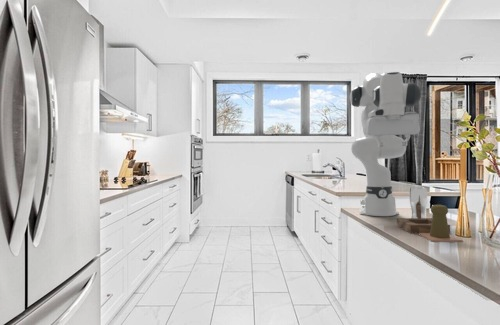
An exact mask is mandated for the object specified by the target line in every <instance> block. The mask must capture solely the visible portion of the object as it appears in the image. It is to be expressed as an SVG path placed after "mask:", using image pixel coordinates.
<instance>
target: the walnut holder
mask: <svg viewBox="0 0 500 325" xmlns="http://www.w3.org/2000/svg"><path fill="white" fill-rule="evenodd" d="M431 223H432V217H429V218H428V217H426V218H412V217H410V218H409V217H407V218H405V217H404V218H400V217H398V218H396V226H398V227H399V228H400V229H402V228H403V230H404V231H406V232H408V233H409V232H410V233H409V234H419V233H430V231H431ZM448 229H449V234H451V225H450V224H448Z"/></svg>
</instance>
